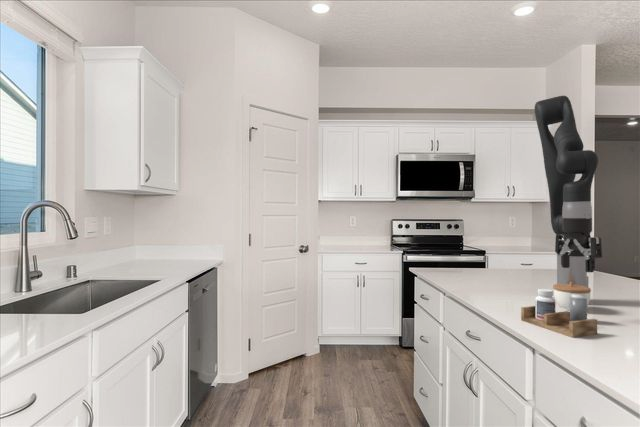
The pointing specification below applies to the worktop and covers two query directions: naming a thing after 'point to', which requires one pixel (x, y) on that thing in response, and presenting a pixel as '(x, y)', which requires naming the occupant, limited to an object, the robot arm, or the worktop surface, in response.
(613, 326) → the worktop surface
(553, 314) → the rack
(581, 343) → the worktop surface
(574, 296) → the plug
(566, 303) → the lidded jar
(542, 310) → the pill bottle
